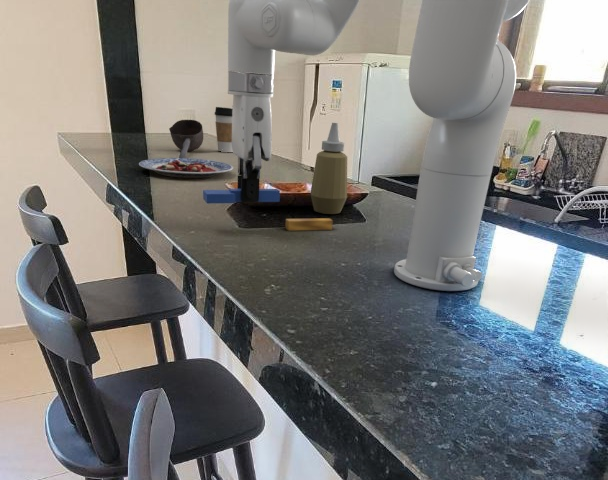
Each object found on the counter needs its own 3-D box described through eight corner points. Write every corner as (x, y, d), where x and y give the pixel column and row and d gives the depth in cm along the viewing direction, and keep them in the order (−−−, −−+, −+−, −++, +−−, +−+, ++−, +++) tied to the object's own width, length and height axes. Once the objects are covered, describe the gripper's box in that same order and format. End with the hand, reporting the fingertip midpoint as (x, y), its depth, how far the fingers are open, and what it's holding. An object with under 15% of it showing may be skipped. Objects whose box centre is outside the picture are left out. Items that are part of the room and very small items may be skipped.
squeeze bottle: (342, 217, 113) (352, 125, 104) (305, 213, 114) (311, 122, 106) (347, 210, 120) (356, 123, 111) (312, 206, 121) (319, 120, 113)
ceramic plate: (217, 184, 137) (217, 172, 135) (122, 175, 140) (121, 163, 138) (243, 170, 159) (243, 160, 158) (161, 163, 162) (160, 152, 161)
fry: (328, 227, 104) (329, 218, 104) (332, 229, 103) (332, 220, 102) (285, 228, 102) (285, 218, 101) (288, 230, 100) (288, 221, 99)
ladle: (205, 142, 198) (201, 114, 191) (205, 189, 170) (201, 158, 163) (173, 144, 196) (168, 116, 189) (168, 191, 169) (162, 160, 162)
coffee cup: (210, 151, 194) (210, 106, 187) (220, 149, 202) (220, 106, 195) (231, 154, 192) (232, 108, 186) (241, 151, 200) (241, 108, 193)
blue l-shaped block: (275, 198, 99) (275, 187, 98) (280, 203, 96) (281, 191, 95) (203, 199, 95) (202, 187, 94) (206, 203, 92) (206, 191, 91)
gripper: (287, 89, 82) (280, 210, 91) (259, 85, 95) (256, 191, 104) (239, 86, 80) (237, 210, 88) (218, 82, 92) (218, 191, 101)
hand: (248, 199), depth 96 cm, fingers closed on blue l-shaped block, 1 cm apart
